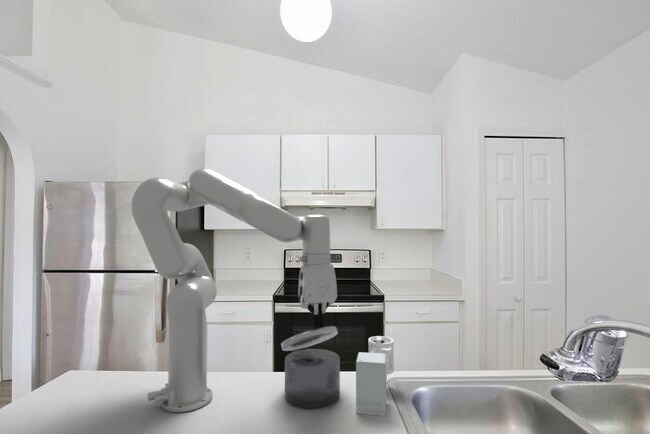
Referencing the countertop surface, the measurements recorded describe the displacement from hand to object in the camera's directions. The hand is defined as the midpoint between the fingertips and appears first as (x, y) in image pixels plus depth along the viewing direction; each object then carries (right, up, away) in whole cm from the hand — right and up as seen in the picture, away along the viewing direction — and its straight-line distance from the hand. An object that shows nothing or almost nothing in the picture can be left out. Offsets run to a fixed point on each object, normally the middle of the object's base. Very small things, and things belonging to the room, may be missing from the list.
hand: (317, 327), depth 92 cm
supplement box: (+14, -19, -6) cm, 24 cm away
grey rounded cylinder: (-2, -19, +1) cm, 19 cm away
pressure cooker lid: (-2, -5, +2) cm, 6 cm away
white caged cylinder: (+18, -19, +4) cm, 26 cm away
